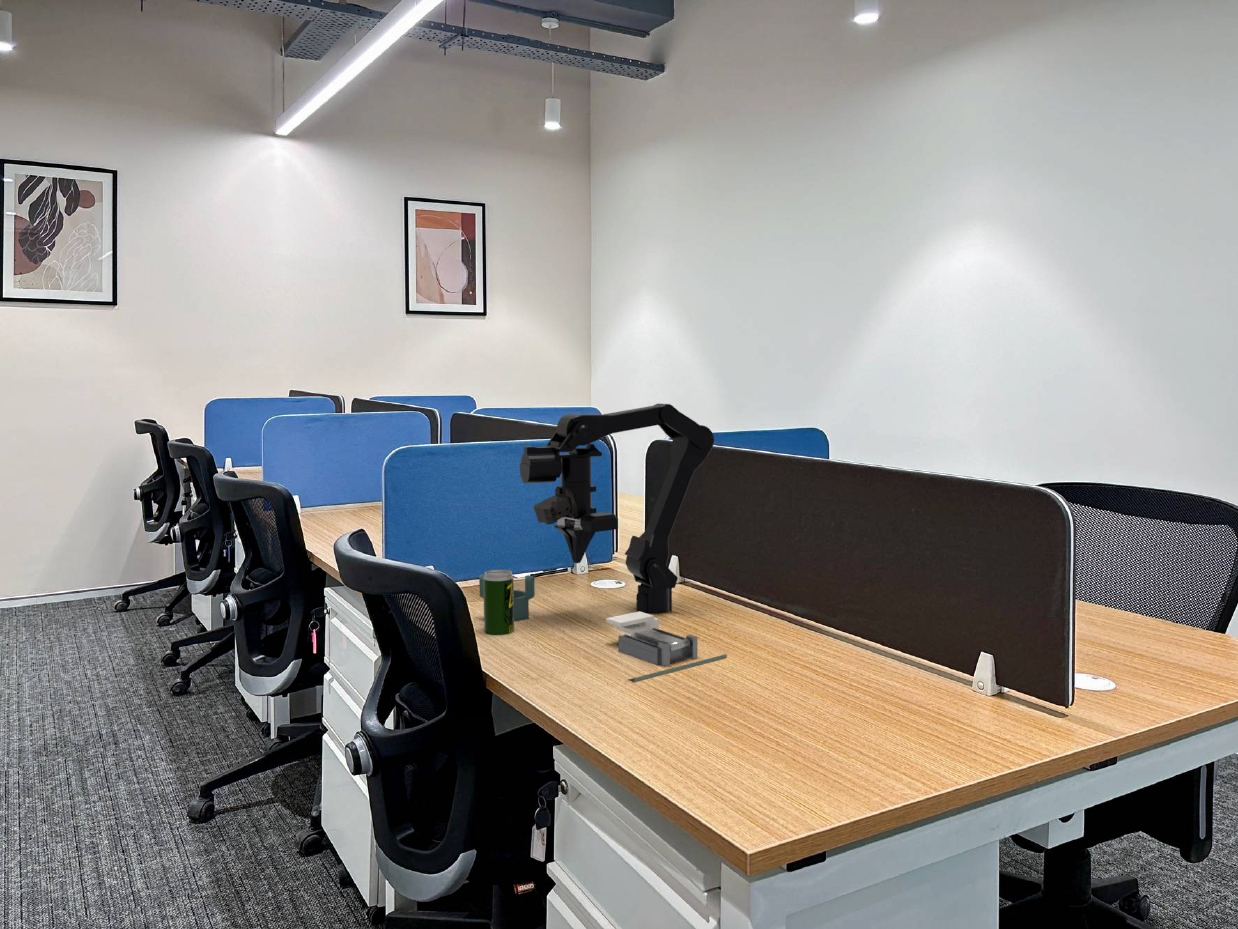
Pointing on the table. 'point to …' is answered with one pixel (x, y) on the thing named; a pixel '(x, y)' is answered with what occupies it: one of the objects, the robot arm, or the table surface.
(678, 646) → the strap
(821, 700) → the table surface
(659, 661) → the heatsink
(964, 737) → the table surface
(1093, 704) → the table surface
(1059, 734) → the table surface
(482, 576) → the bracket
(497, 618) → the beer can
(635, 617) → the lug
